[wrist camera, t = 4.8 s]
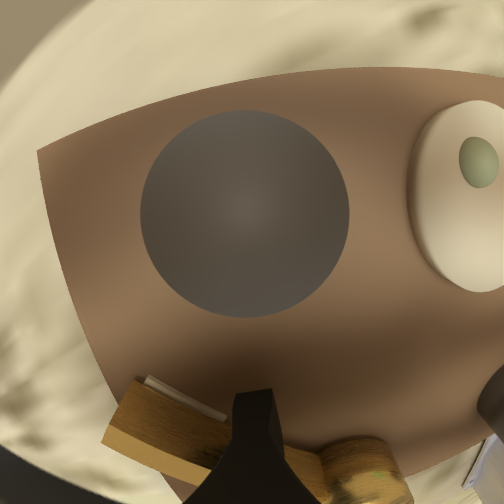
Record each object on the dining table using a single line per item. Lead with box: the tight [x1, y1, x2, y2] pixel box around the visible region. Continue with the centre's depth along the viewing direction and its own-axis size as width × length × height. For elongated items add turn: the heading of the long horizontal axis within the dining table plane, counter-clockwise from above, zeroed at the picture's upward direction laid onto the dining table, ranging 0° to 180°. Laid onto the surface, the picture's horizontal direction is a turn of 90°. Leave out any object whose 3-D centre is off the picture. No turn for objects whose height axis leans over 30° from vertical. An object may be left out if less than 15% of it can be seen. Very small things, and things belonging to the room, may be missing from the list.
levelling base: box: [37, 67, 504, 502], centre depth 9 cm, size 19×19×5 cm
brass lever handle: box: [101, 380, 414, 504], centre depth 9 cm, size 12×4×3 cm, turn 60°
